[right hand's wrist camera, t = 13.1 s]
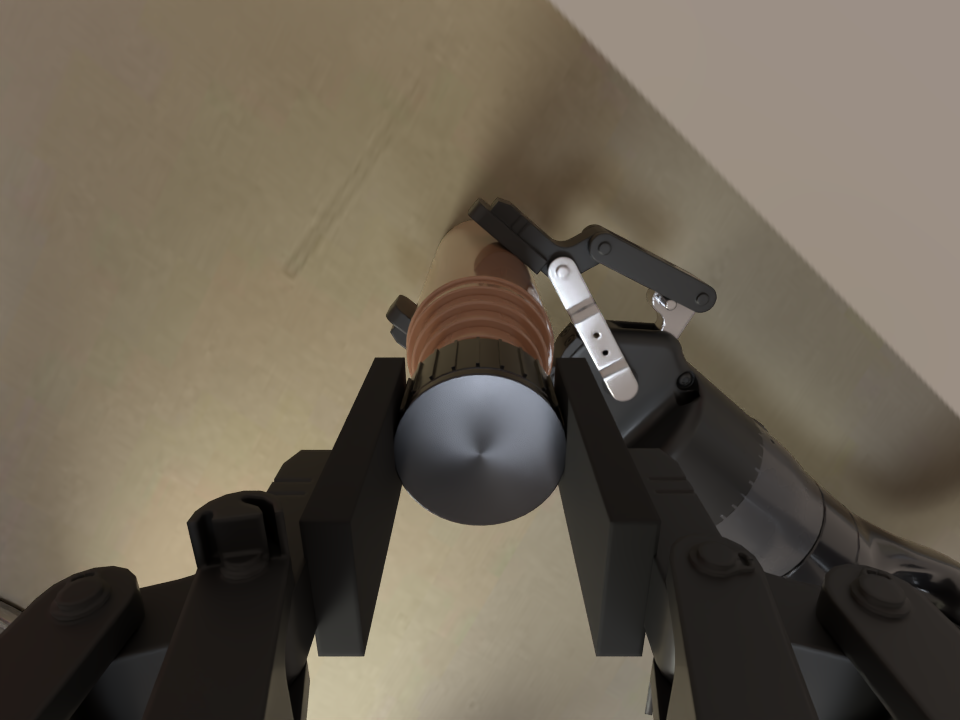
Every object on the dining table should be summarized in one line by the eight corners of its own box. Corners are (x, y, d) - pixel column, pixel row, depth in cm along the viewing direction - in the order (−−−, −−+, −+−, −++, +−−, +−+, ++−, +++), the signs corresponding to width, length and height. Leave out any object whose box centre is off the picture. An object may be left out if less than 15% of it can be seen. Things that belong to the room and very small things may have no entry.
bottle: (424, 293, 31) (352, 500, 14) (449, 206, 30) (403, 314, 12) (508, 319, 32) (543, 549, 14) (538, 235, 30) (619, 378, 12)
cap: (580, 440, 15) (597, 491, 13) (444, 494, 16) (439, 550, 14) (520, 309, 14) (528, 341, 12) (374, 373, 14) (356, 415, 12)
